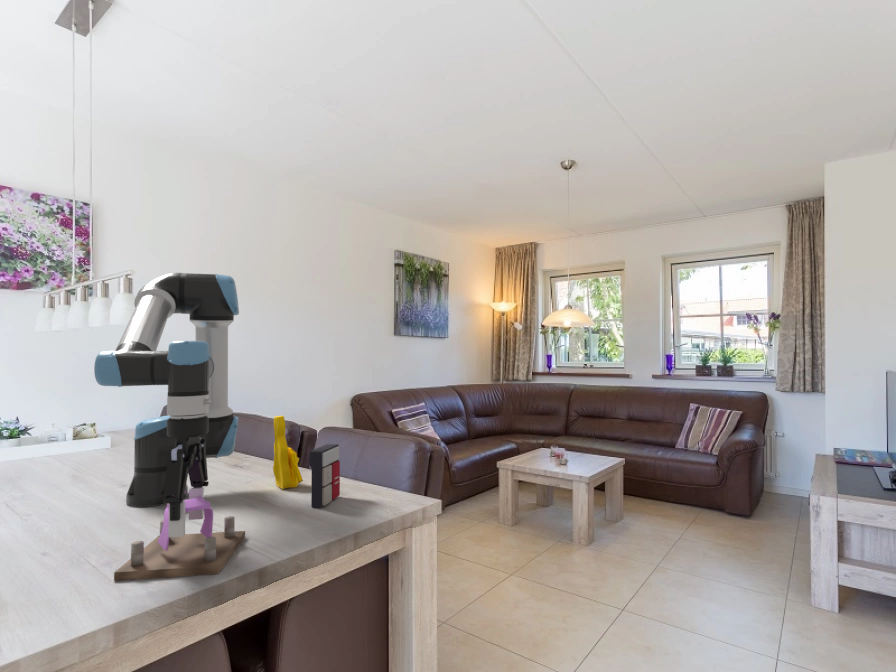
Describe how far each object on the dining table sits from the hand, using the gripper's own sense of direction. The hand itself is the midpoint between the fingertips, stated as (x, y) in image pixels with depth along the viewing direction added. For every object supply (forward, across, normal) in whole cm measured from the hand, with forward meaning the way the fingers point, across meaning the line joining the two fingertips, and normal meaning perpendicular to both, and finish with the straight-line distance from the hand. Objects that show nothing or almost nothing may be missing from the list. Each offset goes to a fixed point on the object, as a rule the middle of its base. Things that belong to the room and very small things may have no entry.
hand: (186, 527), depth 98 cm
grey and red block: (+6, +33, -24) cm, 41 cm away
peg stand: (+6, 0, 0) cm, 6 cm away
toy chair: (+3, 0, 0) cm, 3 cm away
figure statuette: (+6, +51, -10) cm, 52 cm away
